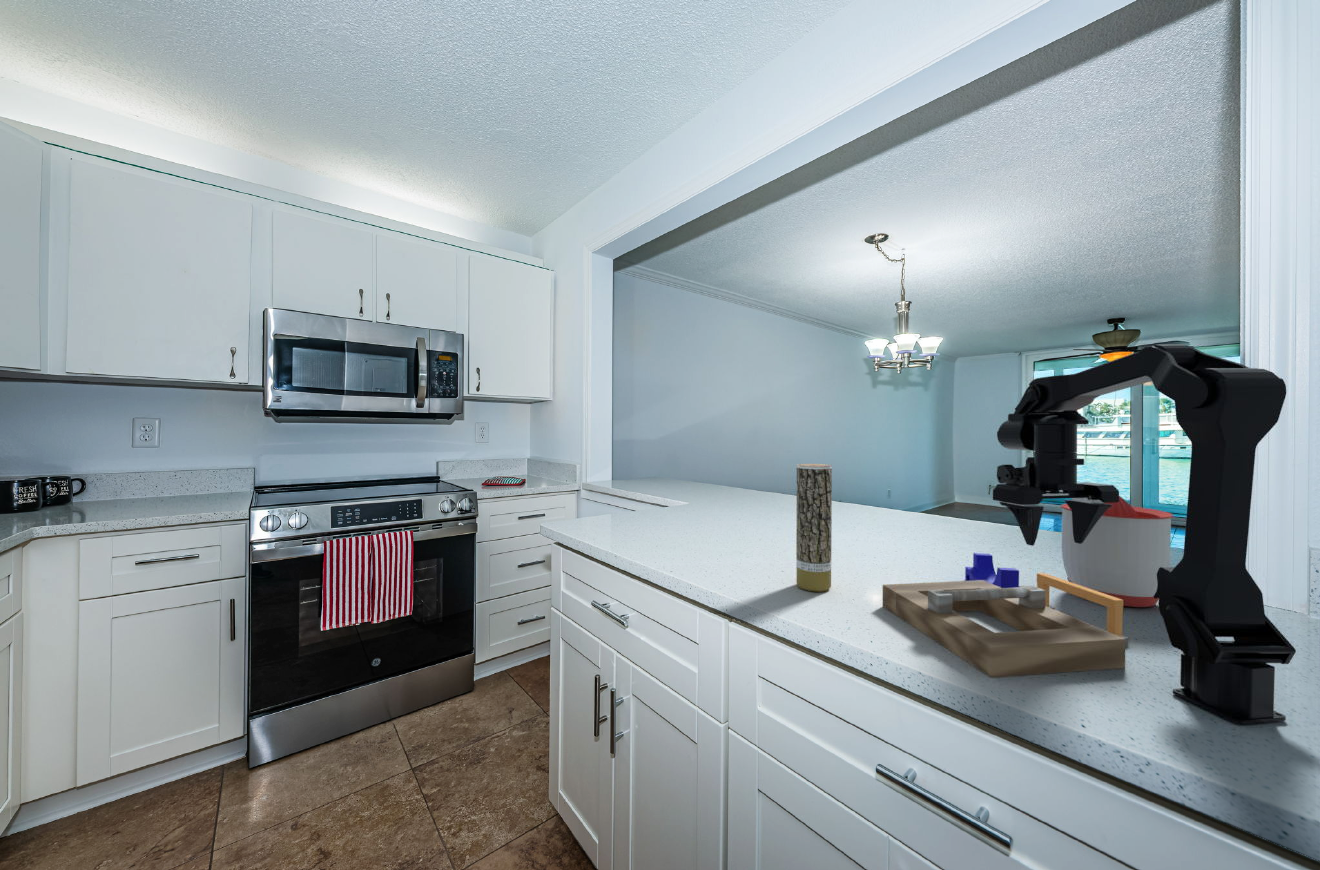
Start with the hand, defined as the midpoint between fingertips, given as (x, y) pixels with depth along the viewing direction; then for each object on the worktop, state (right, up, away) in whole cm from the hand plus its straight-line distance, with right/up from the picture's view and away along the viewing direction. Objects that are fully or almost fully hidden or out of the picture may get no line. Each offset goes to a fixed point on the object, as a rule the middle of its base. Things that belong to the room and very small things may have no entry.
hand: (1054, 544), depth 82 cm
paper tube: (-35, -13, +17) cm, 41 cm away
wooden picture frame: (-15, -13, -5) cm, 20 cm away
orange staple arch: (+1, -13, -3) cm, 13 cm away
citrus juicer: (+20, -13, +11) cm, 26 cm away
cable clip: (-1, -13, +15) cm, 20 cm away
